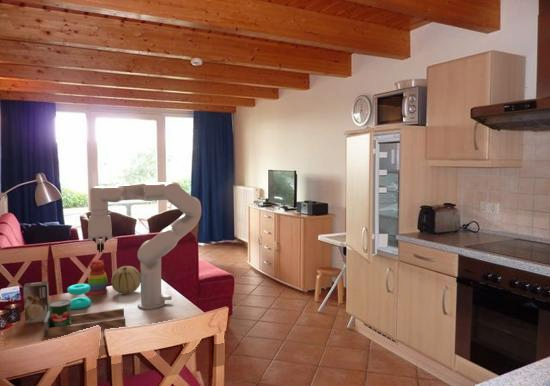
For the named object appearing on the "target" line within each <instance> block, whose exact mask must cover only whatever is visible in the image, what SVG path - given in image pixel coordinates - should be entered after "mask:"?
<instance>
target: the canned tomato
mask: <svg viewBox="0 0 550 386" xmlns="http://www.w3.org/2000/svg"><path fill="white" fill-rule="evenodd" d="M70 300H71V299H60V300H59V299H58V300H55V301H52V302H49V312H50V328H52V327H59V326H67V325H72V323H71V315H72V309H71V301H70Z"/></svg>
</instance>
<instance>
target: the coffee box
mask: <svg viewBox="0 0 550 386" xmlns="http://www.w3.org/2000/svg"><path fill="white" fill-rule="evenodd" d="M22 289H23V306H24V323H26V324H32V323H38V322H39V323H41V322H44V321H45V318H46V315H47V313H48V311H49V304H50V294H49V281H47V280H46V281H36V282H28V283H24V285H23V288H22Z"/></svg>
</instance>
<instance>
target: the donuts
mask: <svg viewBox="0 0 550 386" xmlns="http://www.w3.org/2000/svg"><path fill="white" fill-rule="evenodd" d="M89 290H90V285H88V283H76V284H72V285H70V286H68V287H67V293H68V294H70V295H72V296H80V295H85V293H87V292H88V291H89ZM69 300H70V301H71V310H79V309H85V308H88V307H89V306H90V305H91V304H92V303H91V302H92V300H91V299H90V298H89V297H86V296H85V297H84V296H80V297H75V298H71V299H69Z"/></svg>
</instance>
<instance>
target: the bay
mask: <svg viewBox="0 0 550 386" xmlns="http://www.w3.org/2000/svg"><path fill="white" fill-rule="evenodd" d="M124 316H125V308H117V309H109V310H101V311H99V310H98V311H92V312H84V313H76V314H75V313H74V314H71V325H67V326H59V327H52V328H50V312H49V311H48V313H47V315H46V318H45V321H43V327H44V329H43V330H44V331H43V332H44V337H45V338H49V337H55V336H62V335H67V334H73V333H72V332H76V331H79V330H83V329H86V328H90V327H93V326H96V325H99V326H100V327H101V328H102V329H103V330H104V329H110V328H111V329H112V328H117V327H123V326H126V317H124ZM116 317H120V318H116ZM110 318H111V319H110ZM112 318H113V319H112ZM102 319H104V320H102ZM95 320H97V321H95ZM86 321H87V322H86ZM88 321H91V322H88ZM80 322H84V323H80ZM73 323H74V324H73ZM75 323H76V324H75ZM102 329H101V330H102ZM76 333H77V332H76Z"/></svg>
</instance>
